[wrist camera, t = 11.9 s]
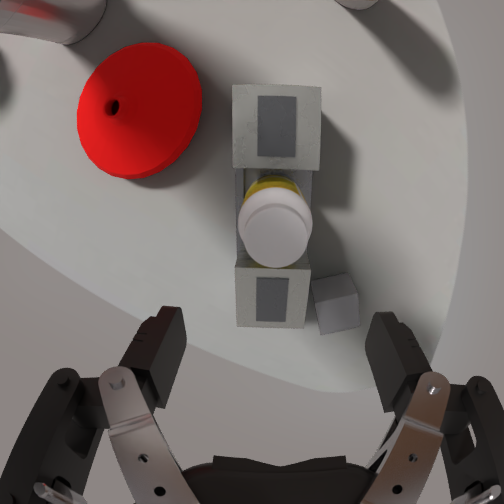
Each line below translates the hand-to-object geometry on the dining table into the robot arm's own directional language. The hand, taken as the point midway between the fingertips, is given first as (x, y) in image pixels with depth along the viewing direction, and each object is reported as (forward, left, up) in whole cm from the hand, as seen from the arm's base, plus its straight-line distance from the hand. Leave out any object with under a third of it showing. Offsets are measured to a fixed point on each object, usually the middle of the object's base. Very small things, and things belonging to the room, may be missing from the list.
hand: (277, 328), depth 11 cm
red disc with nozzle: (-11, -15, -22) cm, 29 cm away
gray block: (+12, +8, -22) cm, 26 cm away
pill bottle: (0, 0, -21) cm, 21 cm away
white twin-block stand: (0, 0, -22) cm, 22 cm away
